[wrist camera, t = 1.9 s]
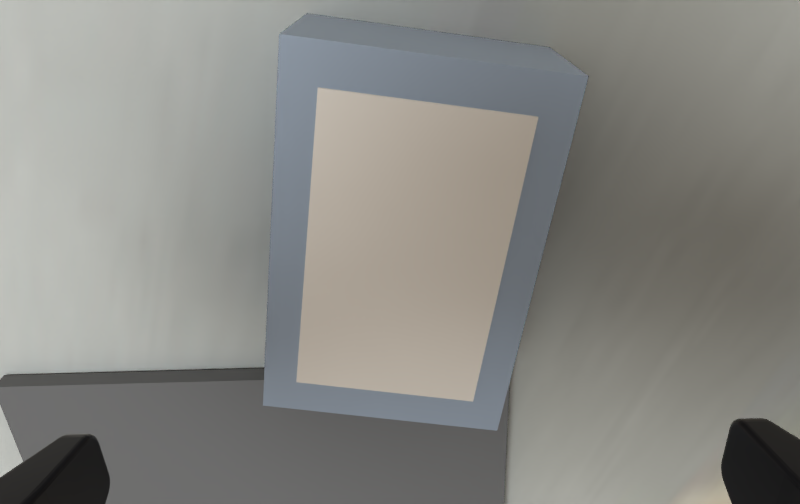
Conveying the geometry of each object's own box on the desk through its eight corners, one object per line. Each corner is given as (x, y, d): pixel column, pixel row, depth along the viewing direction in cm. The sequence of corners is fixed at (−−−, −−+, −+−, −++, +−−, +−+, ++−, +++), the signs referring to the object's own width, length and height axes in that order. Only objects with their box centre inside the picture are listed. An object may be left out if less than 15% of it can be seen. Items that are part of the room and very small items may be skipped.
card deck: (547, 45, 16) (589, 76, 12) (480, 341, 20) (497, 432, 16) (308, 12, 16) (279, 34, 12) (289, 320, 20) (262, 407, 16)
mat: (507, 361, 20) (510, 373, 19) (497, 575, 24) (500, 590, 24) (4, 375, 20) (-7, 387, 20) (85, 583, 25) (78, 597, 24)
